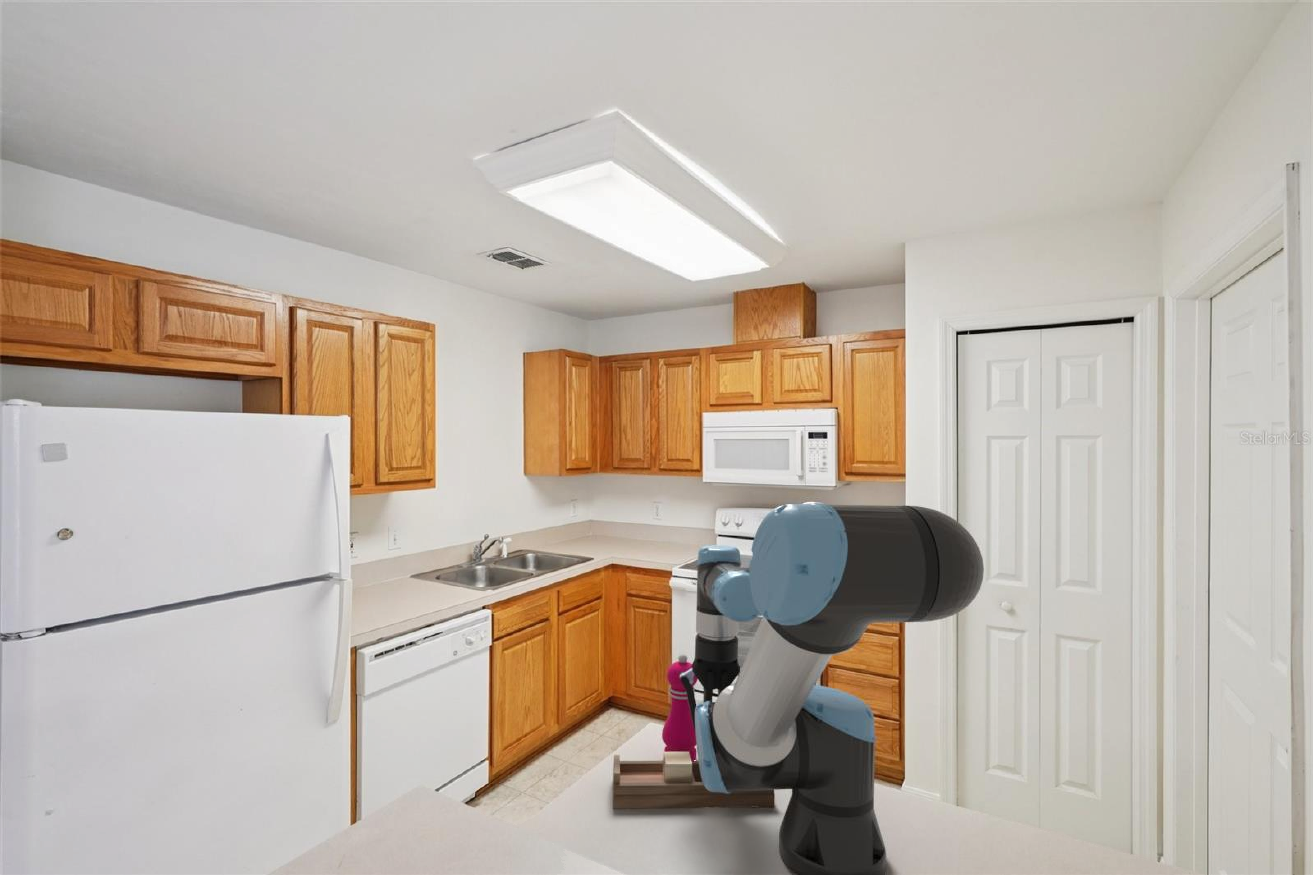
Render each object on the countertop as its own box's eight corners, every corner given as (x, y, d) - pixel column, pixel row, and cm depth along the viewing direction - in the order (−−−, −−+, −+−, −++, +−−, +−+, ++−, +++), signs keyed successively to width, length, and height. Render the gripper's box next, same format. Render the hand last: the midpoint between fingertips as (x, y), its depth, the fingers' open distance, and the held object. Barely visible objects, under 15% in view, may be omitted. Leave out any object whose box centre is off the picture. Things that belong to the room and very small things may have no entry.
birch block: (691, 788, 104) (692, 764, 104) (665, 788, 103) (665, 764, 103) (688, 774, 108) (688, 751, 108) (662, 774, 108) (663, 751, 108)
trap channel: (774, 806, 102) (774, 776, 102) (613, 808, 100) (614, 777, 101) (761, 779, 111) (761, 751, 111) (612, 780, 109) (613, 751, 110)
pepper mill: (695, 770, 114) (698, 661, 115) (657, 764, 116) (660, 657, 116) (701, 752, 121) (704, 650, 122) (665, 747, 123) (668, 646, 123)
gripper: (749, 629, 112) (745, 760, 111) (678, 628, 111) (674, 760, 110) (758, 641, 104) (754, 782, 103) (682, 640, 103) (677, 782, 102)
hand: (713, 771), depth 107 cm, fingers closed
